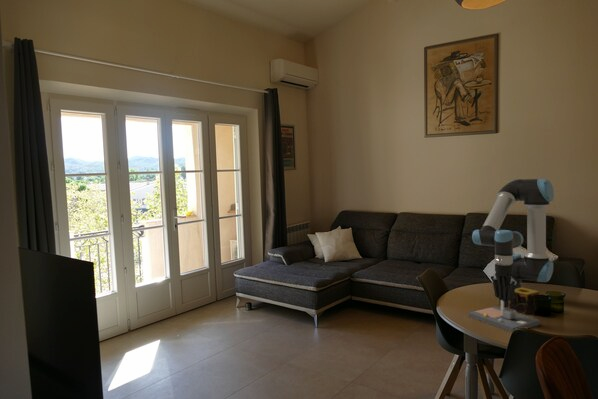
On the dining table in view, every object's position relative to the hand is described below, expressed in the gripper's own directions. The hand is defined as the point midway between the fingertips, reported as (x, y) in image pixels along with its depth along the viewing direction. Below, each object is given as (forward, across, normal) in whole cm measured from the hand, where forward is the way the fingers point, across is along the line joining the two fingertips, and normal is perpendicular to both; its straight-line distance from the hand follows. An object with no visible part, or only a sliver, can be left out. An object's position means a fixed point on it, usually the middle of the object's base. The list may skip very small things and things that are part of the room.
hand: (504, 313), depth 198 cm
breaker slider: (+1, +3, 0) cm, 3 cm away
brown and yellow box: (+4, -5, +21) cm, 22 cm away
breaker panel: (+4, -1, 0) cm, 4 cm away
